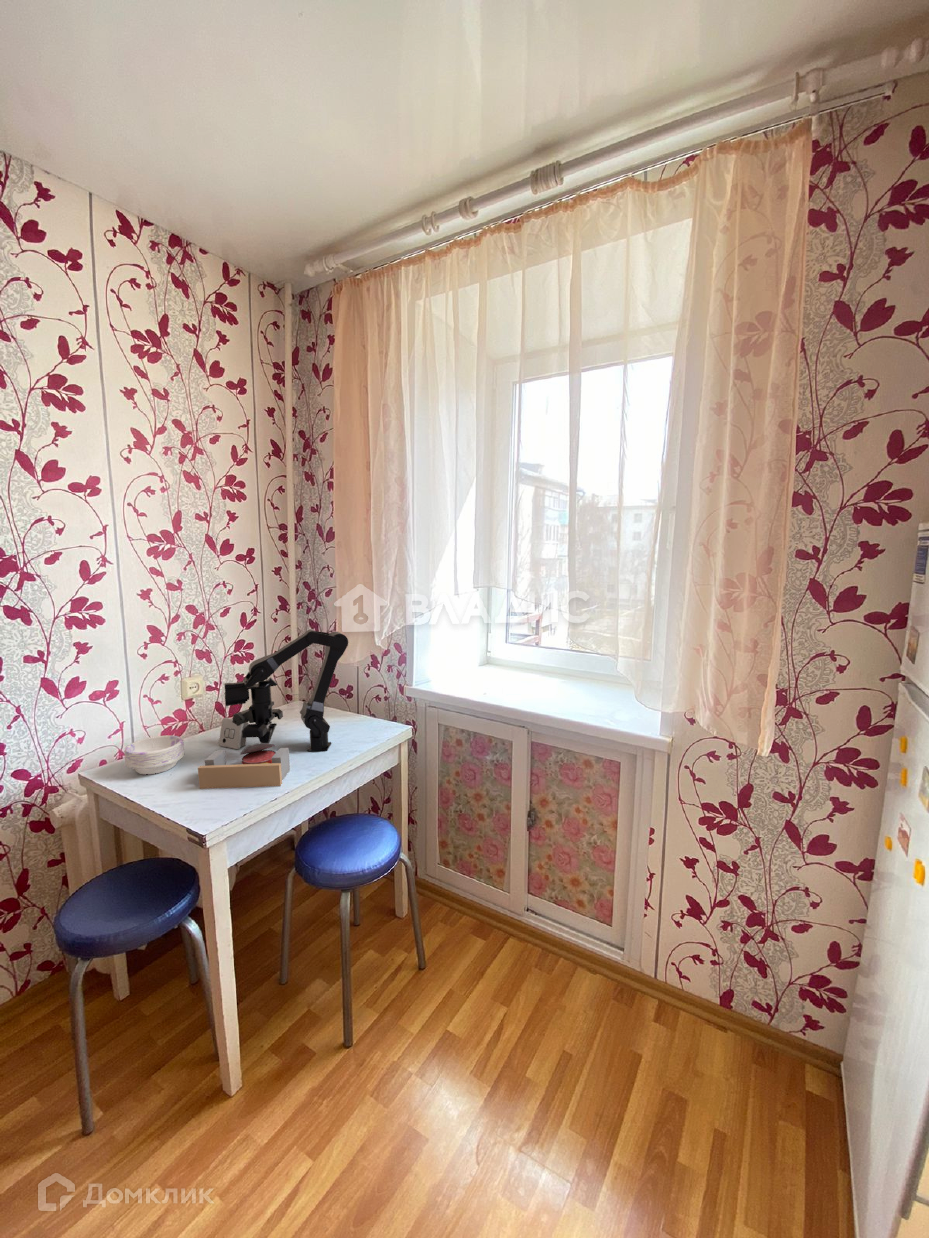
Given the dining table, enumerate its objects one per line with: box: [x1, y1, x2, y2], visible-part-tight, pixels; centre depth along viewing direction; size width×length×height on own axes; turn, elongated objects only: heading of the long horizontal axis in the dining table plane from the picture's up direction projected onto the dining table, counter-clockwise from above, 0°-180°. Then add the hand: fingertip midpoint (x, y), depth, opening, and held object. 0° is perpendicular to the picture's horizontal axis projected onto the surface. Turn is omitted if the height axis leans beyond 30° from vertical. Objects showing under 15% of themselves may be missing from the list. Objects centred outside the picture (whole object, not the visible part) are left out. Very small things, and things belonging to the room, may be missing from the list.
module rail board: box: [197, 747, 291, 790], centre depth 141 cm, size 10×22×7 cm, turn 92°
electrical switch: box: [218, 717, 250, 750], centre depth 167 cm, size 9×5×9 cm, turn 65°
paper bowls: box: [124, 735, 185, 775], centre depth 149 cm, size 15×15×8 cm
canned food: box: [239, 742, 277, 764], centre depth 150 cm, size 11×10×10 cm
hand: (265, 748), depth 155 cm, fingers closed
